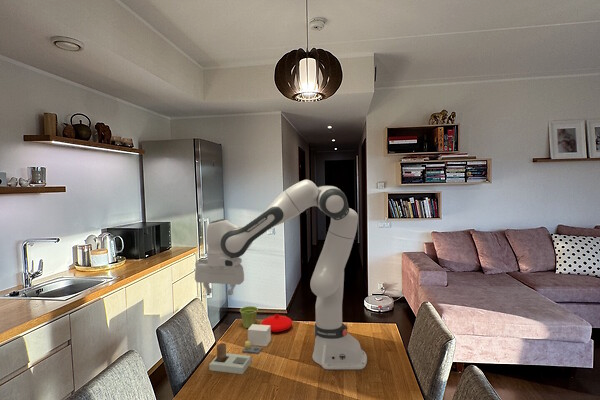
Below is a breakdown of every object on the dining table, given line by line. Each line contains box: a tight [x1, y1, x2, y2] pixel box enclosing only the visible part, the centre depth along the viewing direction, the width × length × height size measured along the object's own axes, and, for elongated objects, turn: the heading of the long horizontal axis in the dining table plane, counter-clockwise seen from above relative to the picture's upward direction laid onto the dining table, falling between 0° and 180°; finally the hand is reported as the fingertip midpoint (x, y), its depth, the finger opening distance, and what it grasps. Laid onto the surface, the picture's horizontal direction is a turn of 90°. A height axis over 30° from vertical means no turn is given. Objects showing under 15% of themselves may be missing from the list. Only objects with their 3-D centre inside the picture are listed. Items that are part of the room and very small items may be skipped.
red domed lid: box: [260, 313, 293, 333], centre depth 163 cm, size 16×16×7 cm
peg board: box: [208, 352, 252, 375], centre depth 129 cm, size 14×9×2 cm, turn 77°
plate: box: [241, 340, 263, 355], centre depth 141 cm, size 7×4×4 cm, turn 77°
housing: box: [247, 323, 272, 347], centre depth 149 cm, size 9×6×7 cm, turn 77°
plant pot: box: [239, 306, 259, 329], centre depth 167 cm, size 9×9×9 cm
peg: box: [216, 343, 227, 362], centre depth 130 cm, size 4×4×8 cm
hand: (219, 293), depth 129 cm, fingers open, 8 cm apart
